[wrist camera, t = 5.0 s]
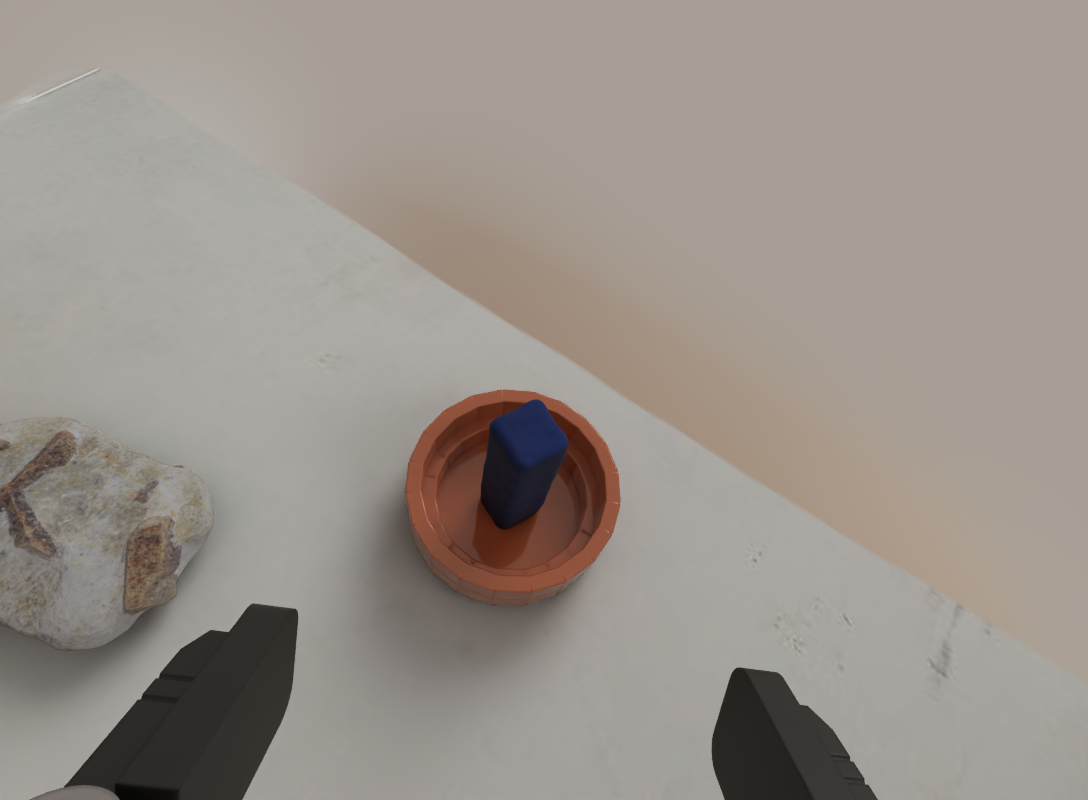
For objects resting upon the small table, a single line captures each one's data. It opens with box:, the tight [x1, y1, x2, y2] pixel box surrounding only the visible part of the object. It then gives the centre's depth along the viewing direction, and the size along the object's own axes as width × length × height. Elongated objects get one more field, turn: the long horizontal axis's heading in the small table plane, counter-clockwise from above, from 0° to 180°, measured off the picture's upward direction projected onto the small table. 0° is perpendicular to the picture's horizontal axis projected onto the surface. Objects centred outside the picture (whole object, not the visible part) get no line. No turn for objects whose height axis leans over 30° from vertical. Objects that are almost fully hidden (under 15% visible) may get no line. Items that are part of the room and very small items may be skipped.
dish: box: [405, 390, 620, 606], centre depth 24 cm, size 8×8×3 cm
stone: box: [0, 417, 214, 651], centre depth 21 cm, size 10×7×3 cm
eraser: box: [481, 399, 568, 530], centre depth 22 cm, size 2×2×7 cm
